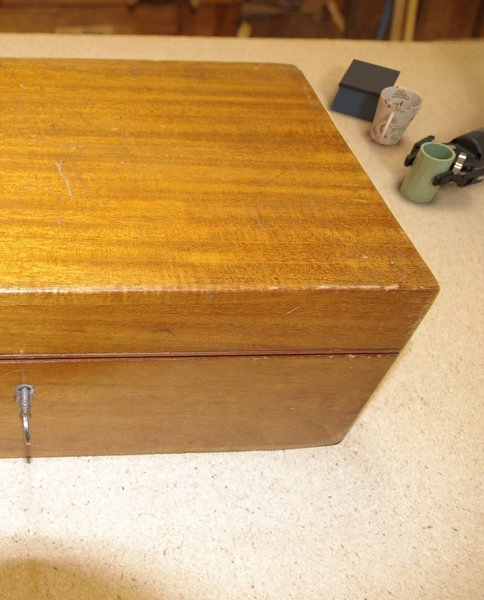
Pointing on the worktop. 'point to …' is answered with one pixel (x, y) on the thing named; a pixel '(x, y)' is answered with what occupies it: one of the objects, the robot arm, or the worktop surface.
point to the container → (363, 89)
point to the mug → (394, 114)
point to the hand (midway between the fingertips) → (421, 171)
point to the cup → (426, 171)
